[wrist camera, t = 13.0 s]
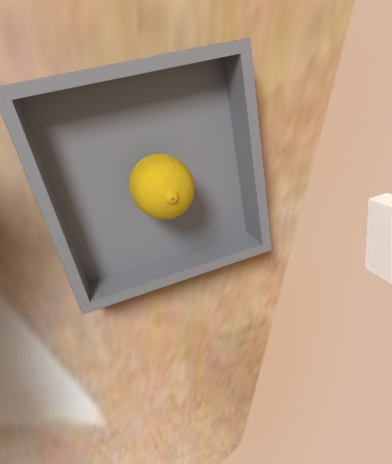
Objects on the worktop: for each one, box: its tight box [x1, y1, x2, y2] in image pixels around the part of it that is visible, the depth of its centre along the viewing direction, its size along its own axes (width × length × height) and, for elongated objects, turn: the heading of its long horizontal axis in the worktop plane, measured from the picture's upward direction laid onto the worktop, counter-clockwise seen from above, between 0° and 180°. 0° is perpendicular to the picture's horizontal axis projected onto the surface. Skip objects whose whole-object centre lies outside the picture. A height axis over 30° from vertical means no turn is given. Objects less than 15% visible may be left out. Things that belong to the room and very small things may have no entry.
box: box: [0, 38, 272, 314], centre depth 33 cm, size 20×20×4 cm
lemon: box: [129, 154, 195, 220], centre depth 31 cm, size 6×6×8 cm
